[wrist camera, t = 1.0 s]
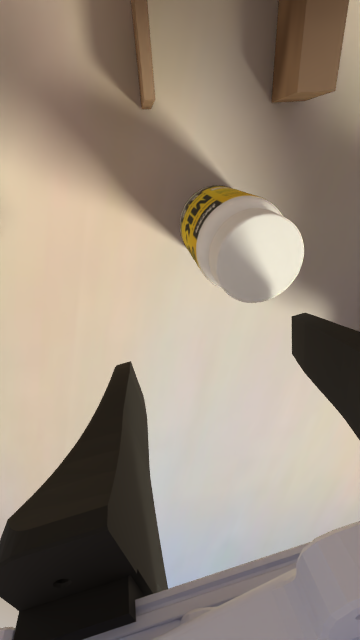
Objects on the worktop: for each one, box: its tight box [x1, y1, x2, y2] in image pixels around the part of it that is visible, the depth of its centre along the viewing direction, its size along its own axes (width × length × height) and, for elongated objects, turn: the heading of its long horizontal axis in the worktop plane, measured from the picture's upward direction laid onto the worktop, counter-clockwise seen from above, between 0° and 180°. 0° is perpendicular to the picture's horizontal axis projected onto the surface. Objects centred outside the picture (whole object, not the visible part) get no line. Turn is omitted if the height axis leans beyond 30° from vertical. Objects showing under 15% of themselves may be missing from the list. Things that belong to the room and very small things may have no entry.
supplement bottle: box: [180, 185, 304, 303], centre depth 16 cm, size 5×5×8 cm
